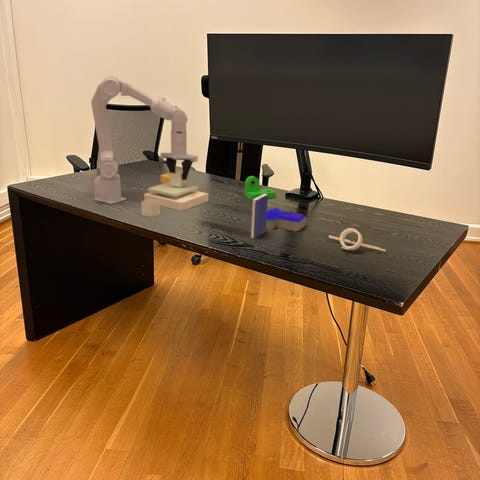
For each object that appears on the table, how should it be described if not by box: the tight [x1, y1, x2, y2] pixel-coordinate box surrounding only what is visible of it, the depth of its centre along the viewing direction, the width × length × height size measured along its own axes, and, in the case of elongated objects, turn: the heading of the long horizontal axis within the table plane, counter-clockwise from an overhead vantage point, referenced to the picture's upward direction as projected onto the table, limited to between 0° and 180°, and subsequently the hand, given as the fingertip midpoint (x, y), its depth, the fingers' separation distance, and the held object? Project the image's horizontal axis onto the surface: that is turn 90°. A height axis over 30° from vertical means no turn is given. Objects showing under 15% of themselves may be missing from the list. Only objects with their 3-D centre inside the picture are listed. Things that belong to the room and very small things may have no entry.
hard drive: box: [250, 194, 269, 239], centre depth 145 cm, size 2×8×12 cm, turn 152°
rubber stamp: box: [160, 160, 178, 184], centre depth 200 cm, size 10×6×12 cm, turn 53°
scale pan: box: [147, 182, 199, 197], centre depth 177 cm, size 13×14×1 cm
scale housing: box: [143, 190, 209, 212], centre depth 177 cm, size 18×16×4 cm
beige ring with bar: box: [328, 227, 386, 253], centre depth 138 cm, size 18×10×6 cm
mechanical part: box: [244, 175, 276, 200], centre depth 188 cm, size 12×6×8 cm, turn 114°
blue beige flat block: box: [266, 207, 308, 232], centre depth 156 cm, size 11×15×5 cm
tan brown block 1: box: [141, 199, 161, 218], centre depth 161 cm, size 4×4×5 cm
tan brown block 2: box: [169, 169, 187, 187], centre depth 178 cm, size 4×4×5 cm
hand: (179, 178), depth 179 cm, fingers closed on tan brown block 2, 4 cm apart
